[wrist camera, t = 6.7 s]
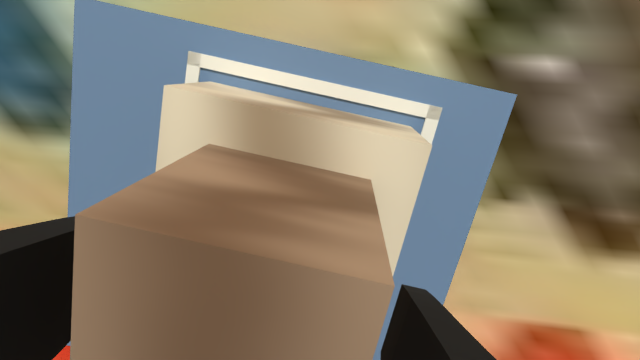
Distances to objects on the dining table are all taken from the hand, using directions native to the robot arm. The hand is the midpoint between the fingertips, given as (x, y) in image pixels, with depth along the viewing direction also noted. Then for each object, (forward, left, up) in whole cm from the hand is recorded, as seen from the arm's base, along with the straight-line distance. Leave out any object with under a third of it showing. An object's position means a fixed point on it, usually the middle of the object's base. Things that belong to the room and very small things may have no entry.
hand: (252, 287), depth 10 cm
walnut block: (0, 0, -3) cm, 3 cm away
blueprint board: (+1, +2, -8) cm, 8 cm away
